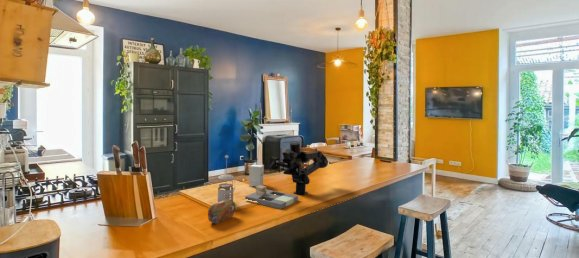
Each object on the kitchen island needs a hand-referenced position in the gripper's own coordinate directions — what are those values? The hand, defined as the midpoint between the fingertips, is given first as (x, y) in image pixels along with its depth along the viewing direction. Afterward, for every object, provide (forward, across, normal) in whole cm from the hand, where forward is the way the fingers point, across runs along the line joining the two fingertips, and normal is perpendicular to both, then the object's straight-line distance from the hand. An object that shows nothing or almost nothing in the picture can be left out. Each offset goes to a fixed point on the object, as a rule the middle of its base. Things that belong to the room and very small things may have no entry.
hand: (276, 170), depth 169 cm
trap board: (0, -3, +18) cm, 18 cm away
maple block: (0, -10, +16) cm, 19 cm away
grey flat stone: (+36, -3, +13) cm, 39 cm away
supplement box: (-18, -28, +23) cm, 40 cm away
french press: (+19, -17, +16) cm, 30 cm away
